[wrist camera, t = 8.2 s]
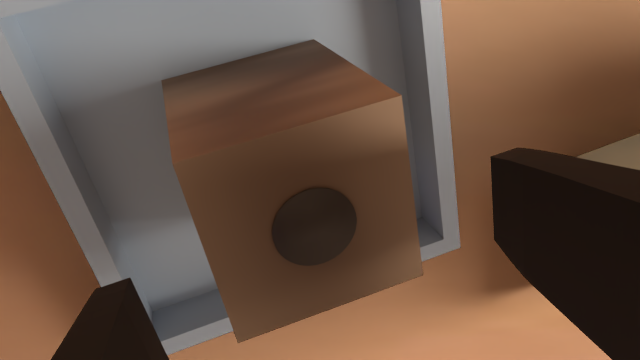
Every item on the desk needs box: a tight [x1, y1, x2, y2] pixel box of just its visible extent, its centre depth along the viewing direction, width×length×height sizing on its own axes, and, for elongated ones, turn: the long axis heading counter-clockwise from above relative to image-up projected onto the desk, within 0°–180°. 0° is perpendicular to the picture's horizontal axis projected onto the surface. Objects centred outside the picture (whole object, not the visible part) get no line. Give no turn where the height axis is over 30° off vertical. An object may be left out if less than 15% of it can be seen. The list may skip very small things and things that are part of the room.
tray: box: [0, 0, 461, 355], centre depth 16 cm, size 11×11×2 cm
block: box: [161, 39, 423, 343], centre depth 13 cm, size 4×4×6 cm
